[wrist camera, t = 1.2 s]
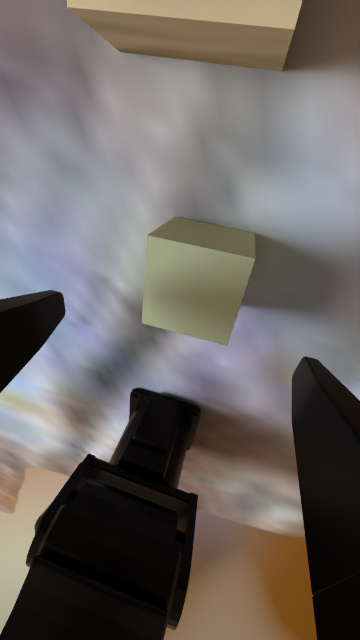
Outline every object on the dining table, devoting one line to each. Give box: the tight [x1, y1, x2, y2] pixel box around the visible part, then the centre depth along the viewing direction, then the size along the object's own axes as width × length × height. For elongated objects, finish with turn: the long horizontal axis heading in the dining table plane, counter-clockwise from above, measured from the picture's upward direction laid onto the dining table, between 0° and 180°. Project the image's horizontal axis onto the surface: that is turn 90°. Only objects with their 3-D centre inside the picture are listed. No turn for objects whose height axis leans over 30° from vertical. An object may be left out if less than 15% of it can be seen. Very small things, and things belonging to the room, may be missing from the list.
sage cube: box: [142, 217, 255, 346], centre depth 13 cm, size 4×4×4 cm
